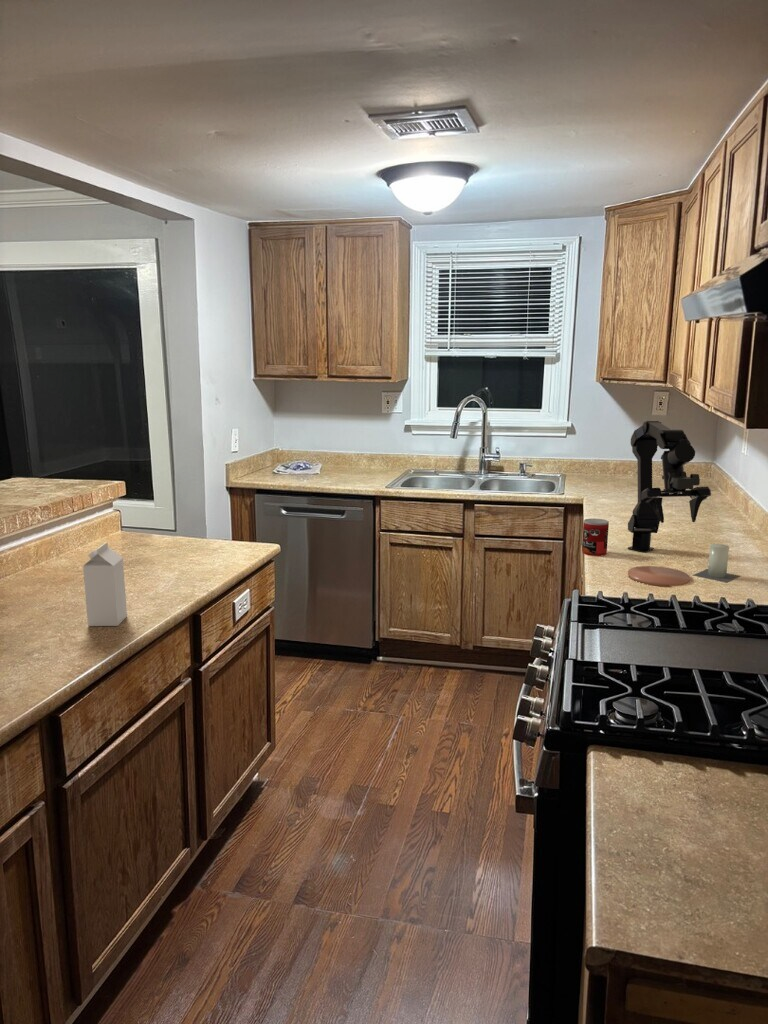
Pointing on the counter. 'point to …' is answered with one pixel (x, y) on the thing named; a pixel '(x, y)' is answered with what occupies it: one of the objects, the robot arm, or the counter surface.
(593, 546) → the canned food
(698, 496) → the robot arm
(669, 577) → the terracotta plate
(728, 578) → the rubber mat
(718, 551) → the sage canister
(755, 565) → the counter surface
